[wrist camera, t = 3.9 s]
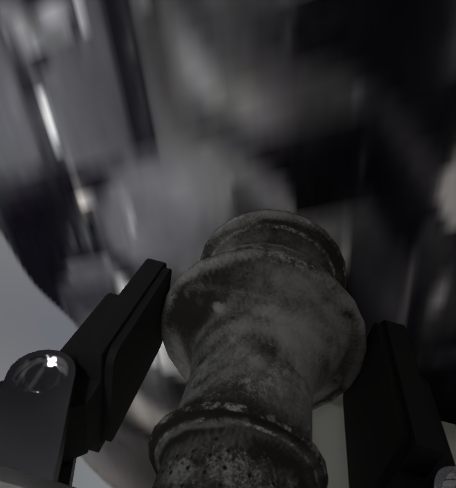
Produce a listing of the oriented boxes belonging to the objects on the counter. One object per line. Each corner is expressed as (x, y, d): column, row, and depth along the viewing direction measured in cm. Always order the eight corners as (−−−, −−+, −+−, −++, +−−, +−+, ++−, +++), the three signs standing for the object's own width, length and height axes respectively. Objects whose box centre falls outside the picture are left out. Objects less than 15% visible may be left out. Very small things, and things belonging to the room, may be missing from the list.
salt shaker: (351, 345, 15) (436, 1049, 5) (202, 337, 16) (-3, 873, 6) (360, 199, 12) (601, 1040, 2) (182, 202, 14) (-252, 727, 3)
